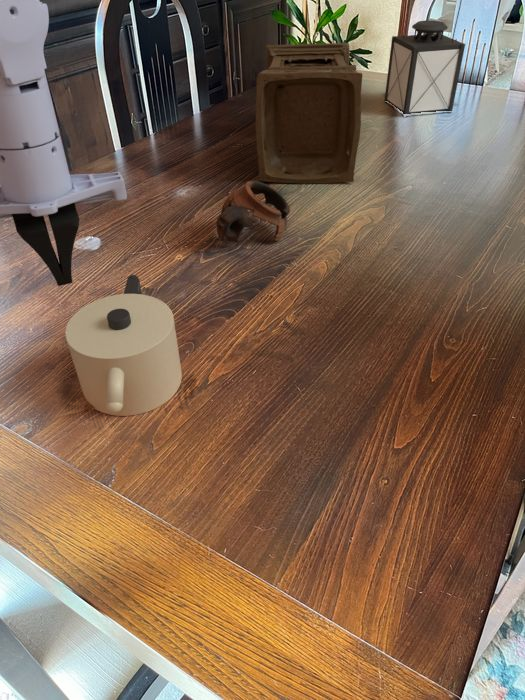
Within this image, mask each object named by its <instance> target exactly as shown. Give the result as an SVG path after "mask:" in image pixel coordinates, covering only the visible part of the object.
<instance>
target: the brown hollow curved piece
mask: <svg viewBox="0 0 525 700" xmlns="http://www.w3.org/2000/svg"><path fill="white" fill-rule="evenodd" d="M256 195H263V197H264V199H265V202H263V201H261V200H260V199H259V198H258V197H257V196H256ZM268 204H269V205H268ZM270 205H271V206H273V207H274V208H273V207H271V206H270ZM249 211H251V212H252V213H251V216H252V217H255V218H258V219H260V221H264V222H268V223H269V224H270V225H273V226H276V230H275V233H274V235H273V241H274V242H280V240H281V239H282V237H283V236H284V233H285V232H286V231H287V227H288V218H287V217H288V215H289V214H290V212H291V206H290V205H289V203H288V202H287V200H286V198H284V197H283V196H282V194H281V193H280V192H278V191H277V190H276V189H275V188H273V187H271V186H270V185H268V184H266V183H265V182H262V181H258V180H248V181H246V182H245V183H244V186H243V187H240V188H238V189H237V188H236V189H235V190H234V191H232V192H231V193H230V194H229V195H228V196H227V198H225V200H224V203H223V204H222V208H221V211H220V214H219V215H218V216H217V218H216V223H215V225H216V233H217V236H218V238H219V240H221V241H225V238H226V240H227V241H229V242H234V243H237V242H239V239H240V236H241V233H242V231H243V230H244V228H245V226H247V224H248V222H249V218H250V212H249Z"/></svg>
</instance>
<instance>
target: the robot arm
mask: <svg viewBox="0 0 525 700" xmlns="http://www.w3.org/2000/svg"><path fill="white" fill-rule="evenodd" d="M49 25H50V15H49V8H48V4H47V3H43V2H42V1H41V0H0V220H3V219H7V218H12V219H13V223H14V227H15V231H16V232H17V234H18V236H19V237H20V238H21V239H22V240H23V241H24V242H25V243H26V244H27V245H28V246H30V248H32V249H33V251H34V252H36V254H37V255H38V256H39V258H40V259H41V260H42V262H43V263H44V264H45V265H46V266H47V268H48V269H49V271H50V272H51V275H52V276H53V278H54V281H55V282H56V284H57V286H58V287H60V286H65V285H71V284H72V283H73V276H72V261H73V260H72V259H73V252H74V245H75V241H76V238H77V234H78V231H79V228H80V227H79V226H80V216H79V213H78V211H77V207H76V206H79V205H80V206H81V205H87V204H92V203H95V202H96V203H97V202H101V201H107V200H113V199H114V201H116V202H119V201H125V200H128V195H127V190H126V183H125V179H124V177H123V175H122V174H121V172H120V171H113V172H104V173H102V172H101V173H80V174H70V170H69V166H68V162H67V157H66V154H65V149H64V146H63V141H62V137H61V133H60V128H59V125H58V121H57V117H56V112H55V107H54V104H53V100H52V96H51V95H52V94H51V92H50V87H49V82H48V79H47V75H46V71H45V70H46V69H48V65H47V62H46V58H45V53H44V46H45V42H46V38H47V36H48V32H49ZM45 216H48V220H49V224H50V227H51V228H50V229H51V231H52V235H53V238H54V242H55V247H56V251H55V249H54V246H53V244H52V240H51V237H50V233H49V230H48V226H47V223H46V219H45ZM56 252H57V253H56Z"/></svg>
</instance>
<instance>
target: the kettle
mask: <svg viewBox="0 0 525 700" xmlns="http://www.w3.org/2000/svg"><path fill="white" fill-rule="evenodd" d="M174 317H175V316H174V314H173V312H172V310H171V308H170V306H169V305H168V304H166V303H165V302H164V301H162V300H161V299H160V298H159V299H158V298H156V297H154V296H150V295H147V294H143V293H142V287H141V282H140V277H138V276H137V275H136V274H131V275H129V276H128V277H127V279H126V283H125V286H124V291H123V293H121V294H119V293H118V294H114V295H109V296H105V297H102V298H99V299H96V300H94V301H92V302H90V303H88V304H86V305H84V306H82V307H81V308H80V309H78V310H77V311H76V312H75V313H74V314H73V315H72V316H71V317H70V319H69V320H68V321H67V324H66V327H65V331H64V332H65V333H64V336H65V340H66V344H67V348H68V351H69V353H70V356H71V359H72V362H73V366H74V369H75V372H76V375H77V378H78V381H79V385H80V389H81V391H82V394H83V397H84V399H85V400H86V401H87V402H88V403H89V404H90V405H91V406H92V408H93V409H95V410H96V411H98V412H100V413H103V414H106V415H110V416H116V417H129V416H130V417H131V416H136V415H141V414H145V413H148V412H151V411H153V410H156V409H158V408H159V407H161V406H162V405H164V404H166V403H167V402H168V401H170V400H171V398H173V397H174V395H175V394H176V393H177V392H178V390H179V388H180V386H181V383H182V379H183V371H182V365H181V359H180V358H181V357H180V352H179V346H178V345H179V344H178V338H177V332H176V325H175V318H174Z"/></svg>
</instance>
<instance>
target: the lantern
mask: <svg viewBox="0 0 525 700" xmlns="http://www.w3.org/2000/svg"><path fill="white" fill-rule="evenodd" d="M462 1H463V0H460V1H459V8H458V11H457V14H456V19H455V23H454V28H453V33H452V38H451V37H450V36H447V35H444V32H445V31H446V30H448V28H449V27H448V25H447V24H446V23H445V22H443V21H441V20H419V21H417V22H415V23H414V24H412V27H411V28H412V29H414V34H410V35H405V31H406V25H407V18H408V13H409V12H408V11H409V6H410V5H409V4H410V0H407V5H406V12H405V20H404V27H403V33H402V35H393V36H391V43H390V52H389V61H388V68H387V76H386V83H385V85H386V86H385V92H384V101H388V102H389V103H391V104H392V105H394V106H395V107H396V108H398V109H399V110H400V111H402V112H403V114H411V113H421V112H436V111H452V112H453V109H454V103H455V99H456V95H457V88H458V83H459V78H460V72H461V69H462V63H463V57H464V53H465V49H466V43H464V42H461V41H459V40H456V39H455V38H454V36H455V33H456V28H457V24H458V20H459V19H458V18H459V16H460V10H461V7H462Z"/></svg>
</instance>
